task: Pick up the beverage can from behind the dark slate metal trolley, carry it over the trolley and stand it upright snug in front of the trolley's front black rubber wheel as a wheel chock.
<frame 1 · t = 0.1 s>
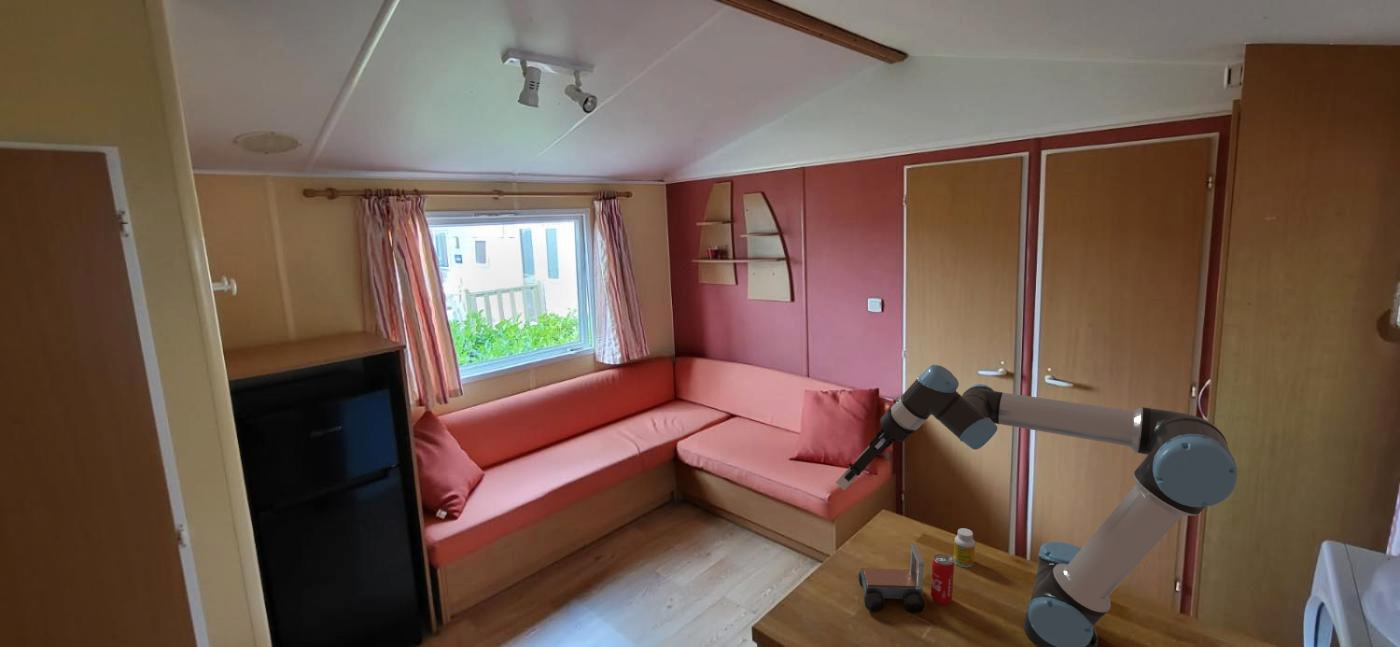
hand: (850, 474, 153), 36 cm above the table, tool tilted 35°, fingers open, 13 cm apart
trolley: (890, 598, 160), on the table
beverage can: (940, 600, 159), on the table
supplement bottle: (963, 562, 175), on the table
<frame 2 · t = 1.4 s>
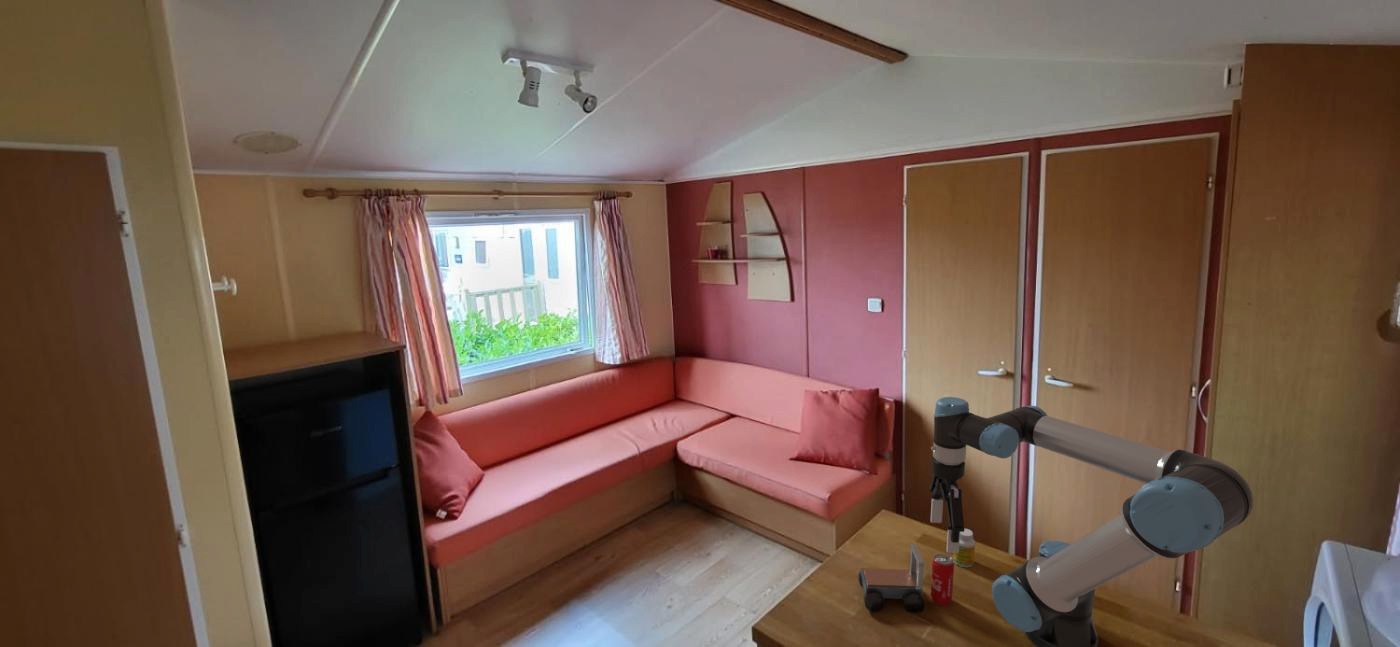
hand: (944, 536, 155), 19 cm above the table, tool pointing down, fingers open, 13 cm apart
nothing on the table moved.
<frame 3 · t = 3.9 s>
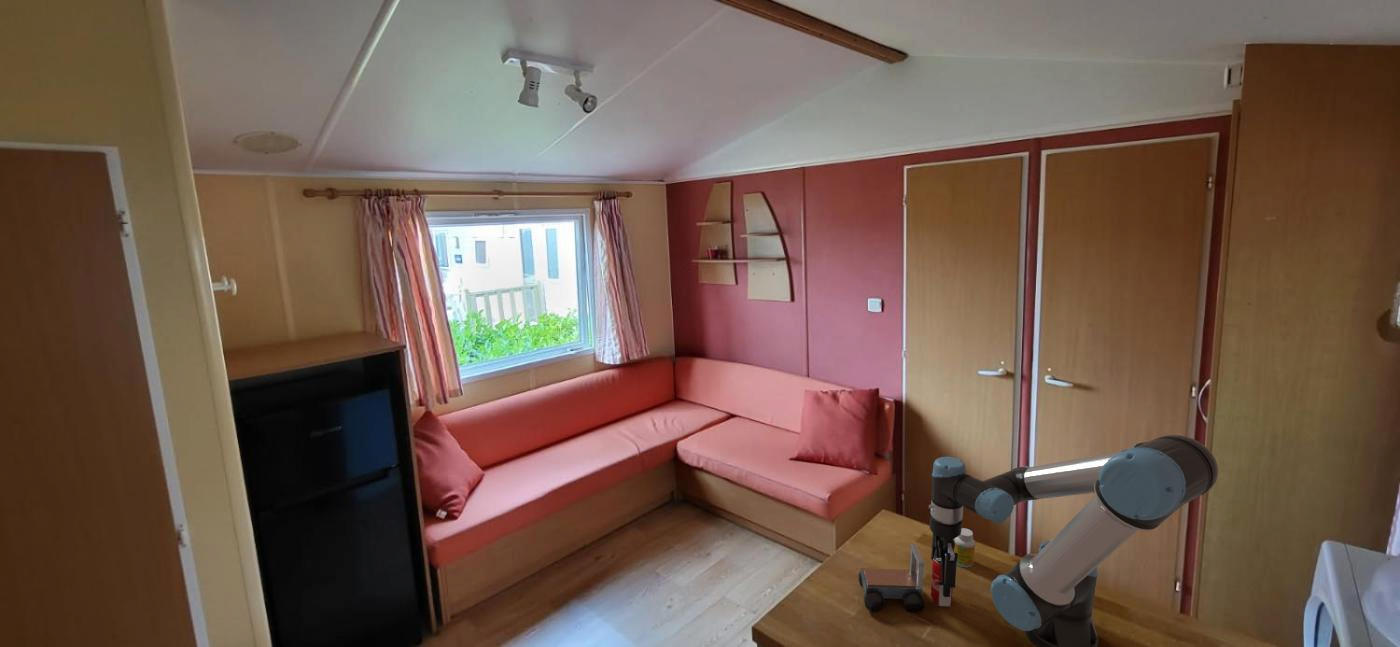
hand: (941, 597, 159), 1 cm above the table, tool pointing down, fingers closed on beverage can, 5 cm apart
beverage can: (940, 600, 159), on the table, touching gripper
everything else where it was.
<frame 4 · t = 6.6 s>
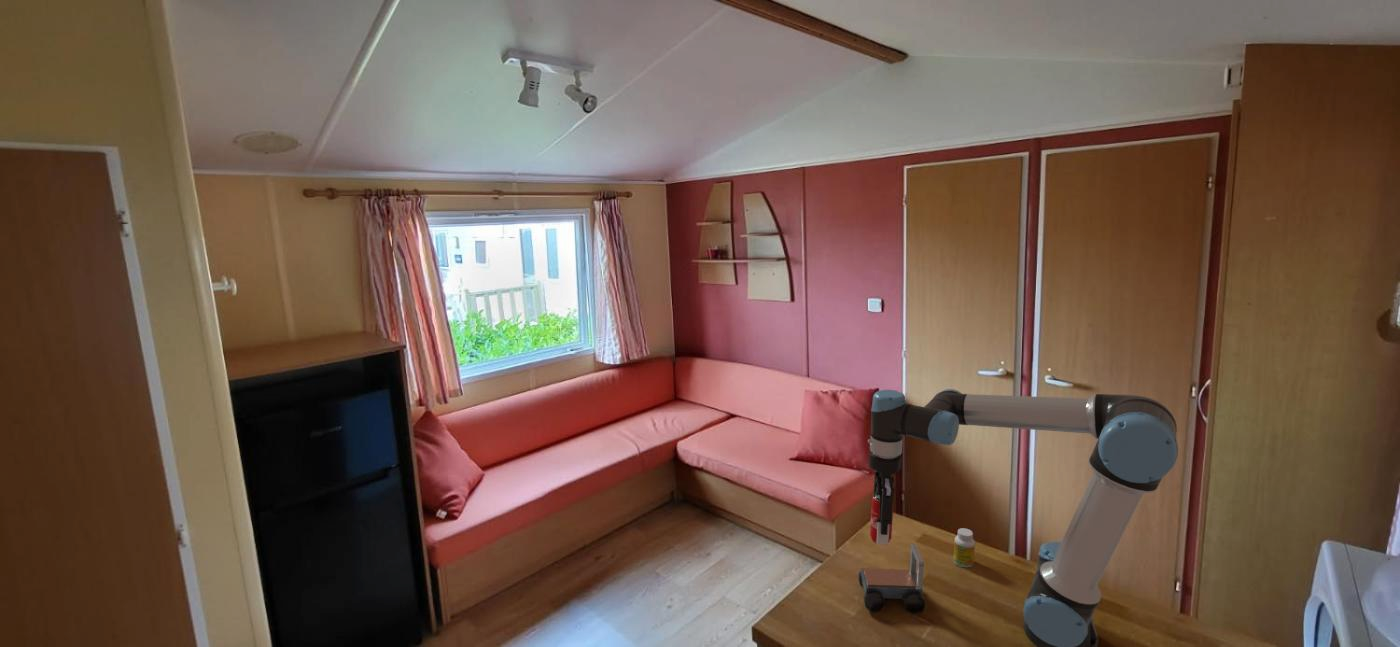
hand: (880, 537, 154), 20 cm above the table, tool pointing down, fingers closed on beverage can, 5 cm apart
beverage can: (880, 540, 154), point 19 cm above the table, touching gripper
everything else where it was.
when the fingers open (2 cm above the table, at t = 9.6 s): beverage can drops 1 cm, on the table.
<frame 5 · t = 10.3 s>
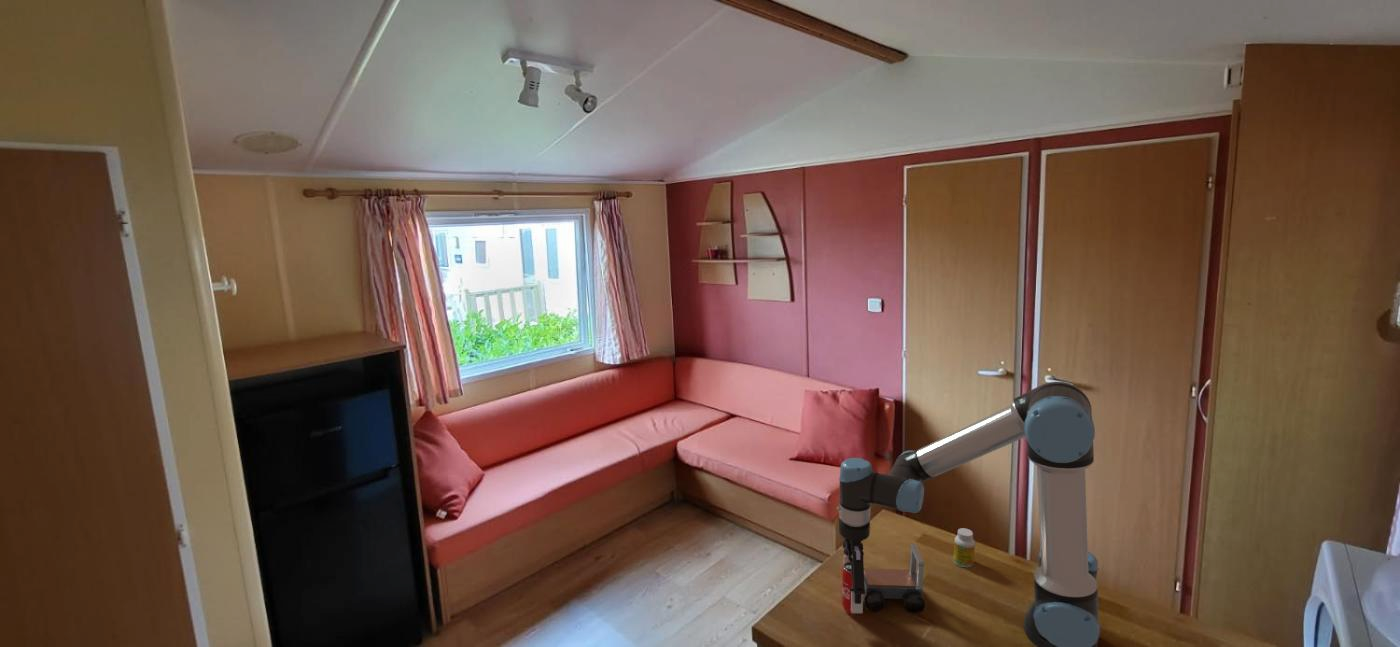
hand: (852, 594, 156), 4 cm above the table, tool pointing down, fingers open, 13 cm apart
beverage can: (852, 609, 157), on the table
everything else where it was.
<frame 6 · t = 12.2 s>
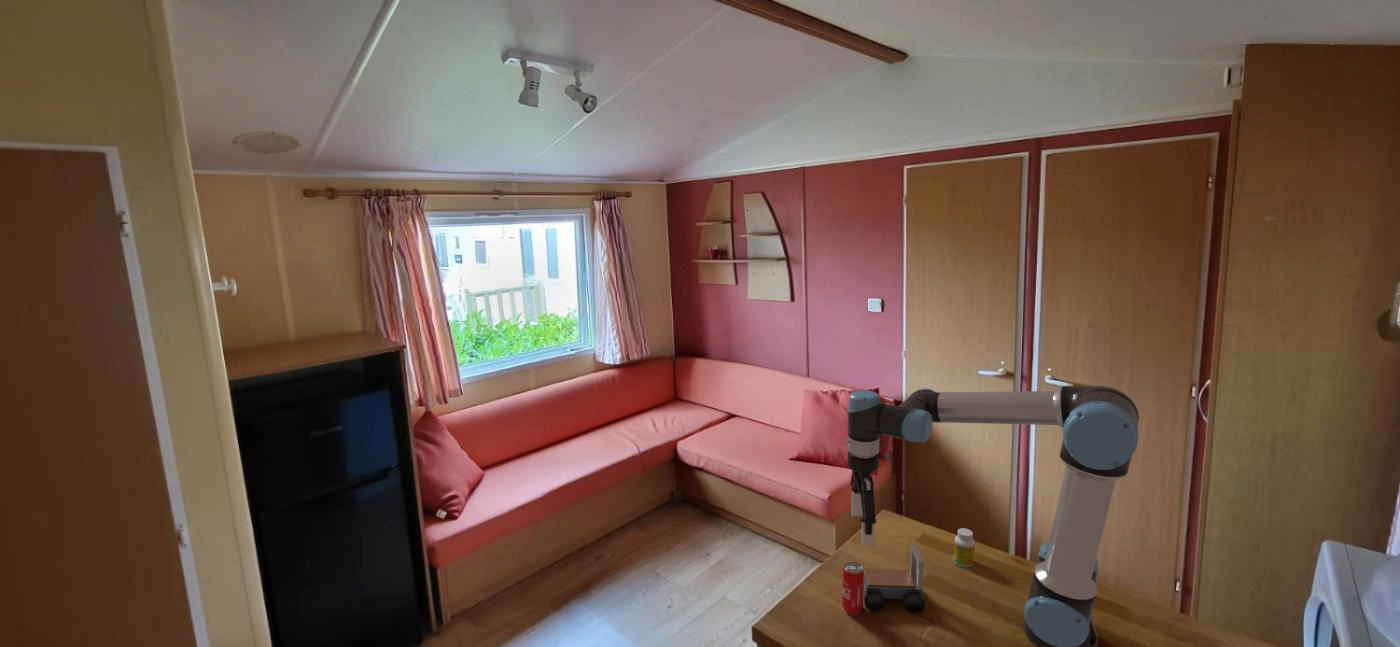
hand: (861, 529, 156), 20 cm above the table, tool pointing down, fingers open, 13 cm apart
nothing on the table moved.
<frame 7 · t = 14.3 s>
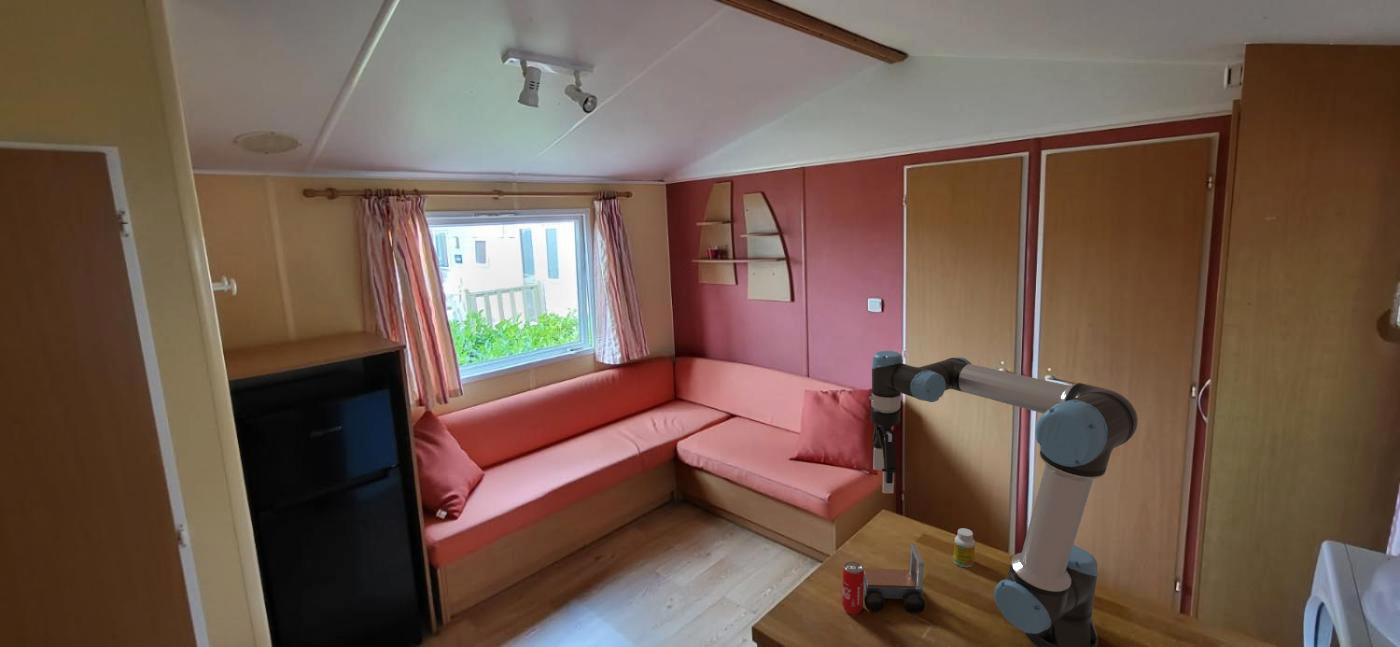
hand: (882, 480, 168), 27 cm above the table, tool pointing down, fingers open, 13 cm apart
nothing on the table moved.
at the end: beverage can 0.5 cm from the target spot on the table beside the trolley, on the table; beverage can tilted 0°; the gripper is holding nothing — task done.
